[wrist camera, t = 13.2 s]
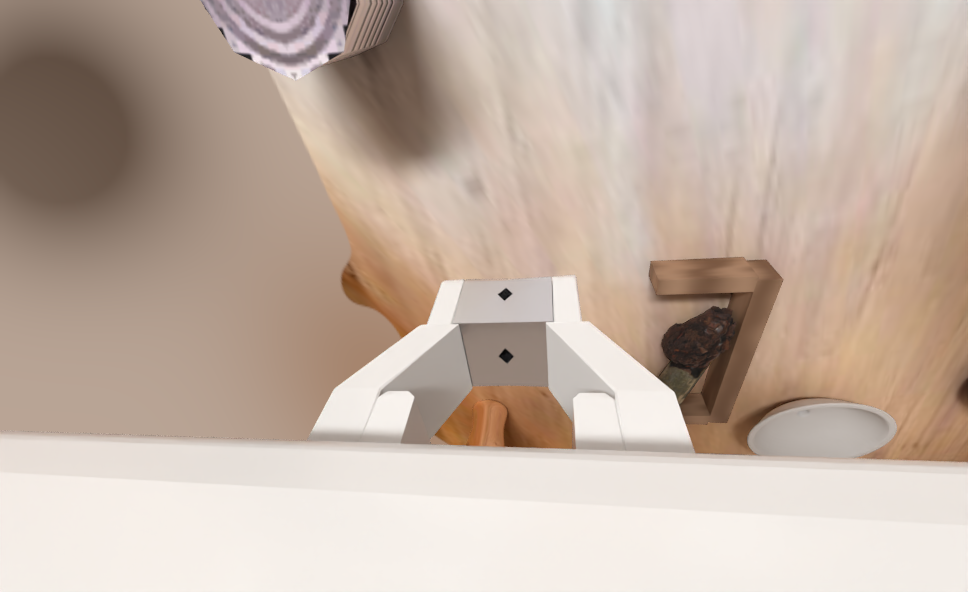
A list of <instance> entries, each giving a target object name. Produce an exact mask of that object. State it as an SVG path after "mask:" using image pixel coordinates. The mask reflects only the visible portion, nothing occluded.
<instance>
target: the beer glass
mask: <svg viewBox="0 0 968 592" xmlns="http://www.w3.org/2000/svg"><path fill="white" fill-rule="evenodd" d="M507 414H508V412H507V409H506V407H505V406H504V405H503V404H501V403H500V402H497V401H494V400H482V401H479V402H477V403H476V404H475V405H474V406H473V409H472V416H473V423H472V429H471V432H470V435H469V438H468V441H467V443H466V446H493V447H505V444H504V425H505V421H506V418H507Z"/></svg>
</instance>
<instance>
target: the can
mask: <svg viewBox="0 0 968 592" xmlns="http://www.w3.org/2000/svg"><path fill="white" fill-rule="evenodd" d="M201 2H202V3H203V5H204V7H205V9H206V10H207V11H208V13H209V14H210V15H211V17H212V19H213V20H214V22H215V23H216V25H217V26H218V28H219V29H220V31H221V32H222V34H223V35H224V37H225V38H226V40H227V41H228V43H229V45H230V46H231V48H232V49H233V51H234V52H235V53H237V54H239V55H242V56H244V57H246V58H248V59H250V60H252V61H254V62H257V63H259V64H261V65H263V66H265V67H267V68H270V69H272V70H274V71H276V72H278V73H280V74H282V75H285V76H287V77H289V78H291V79H293V80H295V81H296V80H298V79H299V78H301V77H303V76H304V75H306V74H308V73H309V72H311V71H313V70H314V69H316V68H318V67H320V66H323V65H327V64H330V63H333V62H336V61H340V60H343V59H346V58H349V57H352V56H355V55H358V54H360V53H362V52H364V51H367V50H369V49H371V48H373V47H376V46H378V45H380V44H382V43H385V42H386V41H387V39H388V37H389V35H390V32H391V30H392V28H393V25H394V23H395V21H396V19H397V16H398V14H399V12H400V10H401V7H402V5H403V0H201Z"/></svg>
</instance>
